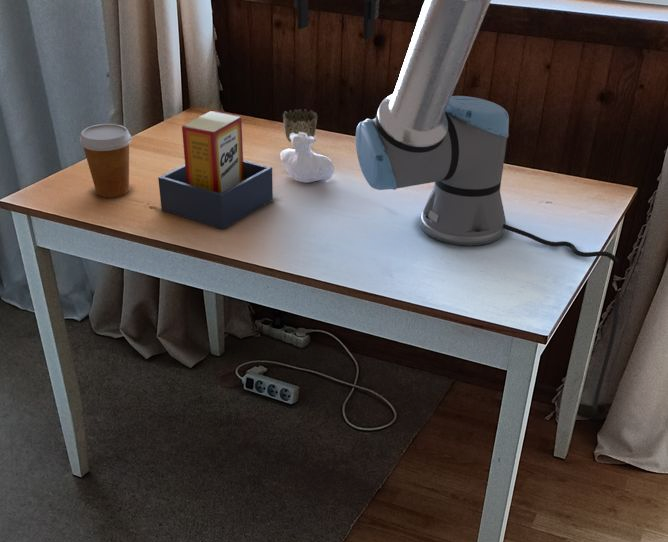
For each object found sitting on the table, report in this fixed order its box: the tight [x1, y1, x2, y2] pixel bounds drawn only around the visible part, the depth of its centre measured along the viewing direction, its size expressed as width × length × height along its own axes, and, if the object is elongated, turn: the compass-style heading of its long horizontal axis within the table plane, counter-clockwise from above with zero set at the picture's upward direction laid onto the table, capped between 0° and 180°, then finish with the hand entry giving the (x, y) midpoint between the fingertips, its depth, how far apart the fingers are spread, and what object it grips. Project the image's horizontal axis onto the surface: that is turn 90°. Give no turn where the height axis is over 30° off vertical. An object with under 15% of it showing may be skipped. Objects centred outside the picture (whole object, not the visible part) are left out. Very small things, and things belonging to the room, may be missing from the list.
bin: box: [157, 159, 274, 230], centre depth 161 cm, size 15×16×7 cm
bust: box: [279, 132, 335, 184], centre depth 170 cm, size 12×8×11 cm
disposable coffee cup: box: [79, 123, 132, 198], centre depth 164 cm, size 10×10×12 cm
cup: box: [282, 108, 318, 149], centre depth 184 cm, size 8×7×8 cm
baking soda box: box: [181, 110, 244, 193], centre depth 158 cm, size 10×6×16 cm
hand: (335, 32), depth 158 cm, fingers open, 13 cm apart
